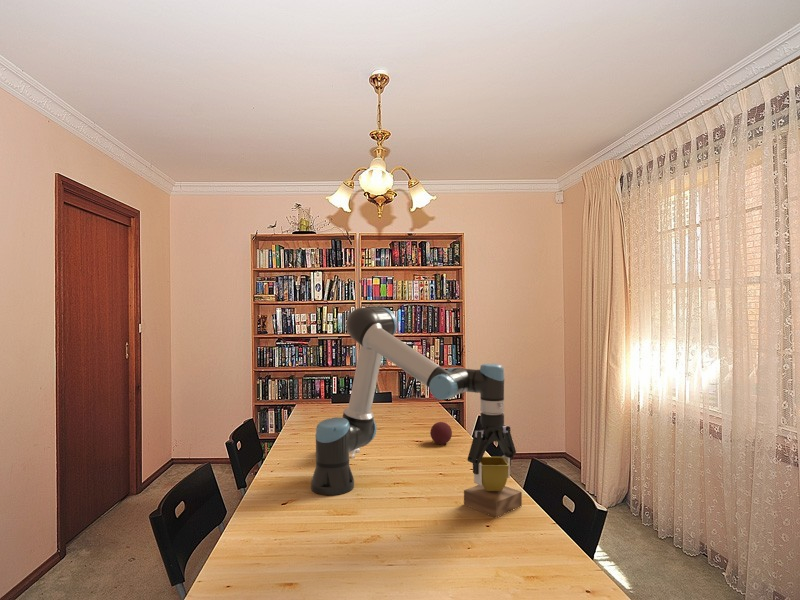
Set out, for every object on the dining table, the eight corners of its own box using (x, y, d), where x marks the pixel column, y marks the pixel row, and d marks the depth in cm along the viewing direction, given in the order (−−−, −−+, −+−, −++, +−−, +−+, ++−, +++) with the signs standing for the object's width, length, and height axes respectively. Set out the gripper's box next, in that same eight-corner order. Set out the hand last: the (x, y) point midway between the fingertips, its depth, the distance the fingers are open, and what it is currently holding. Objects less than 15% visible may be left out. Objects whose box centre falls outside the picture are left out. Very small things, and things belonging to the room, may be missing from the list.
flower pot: (502, 483, 165) (502, 456, 165) (509, 493, 156) (509, 465, 156) (476, 483, 164) (476, 456, 164) (481, 494, 156) (481, 465, 156)
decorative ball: (428, 446, 226) (428, 424, 227) (432, 440, 236) (432, 419, 236) (450, 447, 224) (450, 425, 224) (453, 441, 234) (453, 420, 234)
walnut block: (496, 519, 151) (496, 502, 151) (463, 505, 161) (463, 490, 161) (521, 507, 160) (521, 491, 160) (489, 495, 169) (489, 480, 169)
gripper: (471, 419, 151) (471, 491, 151) (527, 410, 163) (527, 476, 163) (455, 414, 157) (455, 483, 157) (510, 406, 170) (510, 470, 170)
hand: (492, 480), depth 160 cm, fingers closed on flower pot, 11 cm apart
